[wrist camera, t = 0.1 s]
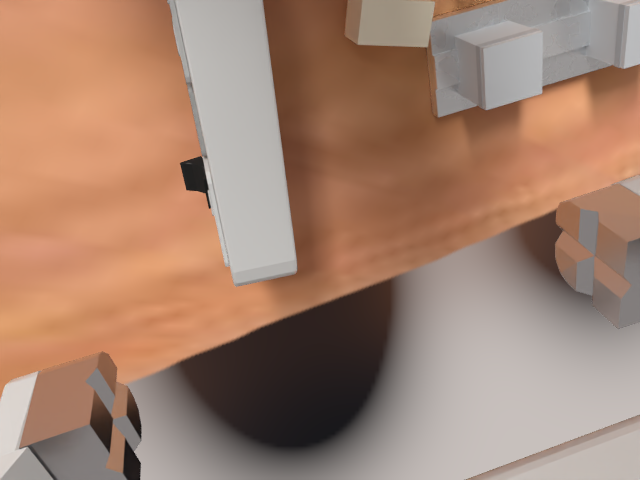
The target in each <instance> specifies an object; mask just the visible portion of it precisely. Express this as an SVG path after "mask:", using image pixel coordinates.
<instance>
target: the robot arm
mask: <svg viewBox="0 0 640 480" xmlns="http://www.w3.org/2000/svg"><path fill="white" fill-rule="evenodd" d="M556 223H557V225H559V227H560V228H561V229H562V230H563V232H562V234H561V235H560V237H559V238H558V240H557V242H556V243H555V256H556V257H555V259H556V262H557V265H558V267H559V270H560V273H561V274H562V276H563V277H564V278H565V280H566V282H567V283H568V284H569V285H570V286H571V287H572V288H573V289H574V290H576V291H578V292H582V293H585V294H588V295H592V306H593V307H594V308H595V309H596V310H597V311H599V312H600V313H601V314H602V315H603V316H604V317H605V318H607V320H609V321H610V322H611V323H612V324H613V325H614V326H615V327H616V328H617V329H620V328H623V327H626V326H629V325H632V324H635V323H638V322H640V176H639V175H637V176H634V177H631V178H628V179H625V180H623V181H620V182H617V183H614V184H612V185H611V186H609V187H606V188H603V189H600V190H597V191H594V192H591V193H588V194H584V195H581V196H578V197H575V198H572V199H569V200H566V201H563V202H560V204H559V206H558V208H557V211H556ZM116 377H117V367H116V365H115V364H114V362H113V361H112V359H111V357H110V356H109V354H107V353H105V352H99V353H96V354H92V355H89V356H86V357H83V358H79V359H76V360H73V361H69V362H66V363H63V364H60V365H56V366H53V367H50V368H46V369H43V370H42V371H37V372H34V373H31V374H28V375H25V376H22V377H18V378H15V379H12V380H11V381H10V382H9V383H7V384H6V385H5V387H4V390H3V393H2V397H1V400H0V480H140V470H141V463H140V461H139V459H138V458H137V456H136V455H135V453H134V451H135V449H136V448H137V446H138V445H139V443H140V442H141V421H140V416H139V410H138V407H137V404H136V402H135V399H134V397H133V395H132V393H131V392H130V389H129V388H128V386H126V385H123V384H121V383H119V382H116ZM466 480H640V415H637V416H635V417H632V418H629V419H627V420H624V421H621V422H619V423H616V424H613V425H611V426H608V427H605V428H603V429H600V430H597V431H595V432H592V433H590V434H587V435H584V436H581V437H578V438H576V439H573V440H570V441H568V442H565V443H563V444H560V445H557V446H554V447H552V448H549V449H546V450H544V451H541V452H539V453H536V454H533V455H530V456H528V457H525V458H523V459H520V460H517V461H514V462H511V463H509V464H506V465H504V466H501V467H498V468H496V469H493V470H490V471H487V472H485V473H482V474H480V475H477V476H474V477H471V478H469V479H466Z"/></svg>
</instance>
